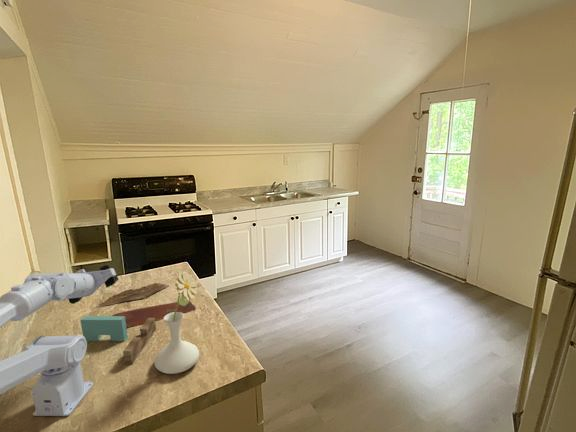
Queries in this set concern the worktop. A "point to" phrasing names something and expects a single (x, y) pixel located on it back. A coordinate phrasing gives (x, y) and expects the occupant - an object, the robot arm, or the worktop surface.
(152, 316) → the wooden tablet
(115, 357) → the worktop surface
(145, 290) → the wooden fragment
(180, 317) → the flower in vase
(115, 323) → the teal arch block
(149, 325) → the brown wooden bar
